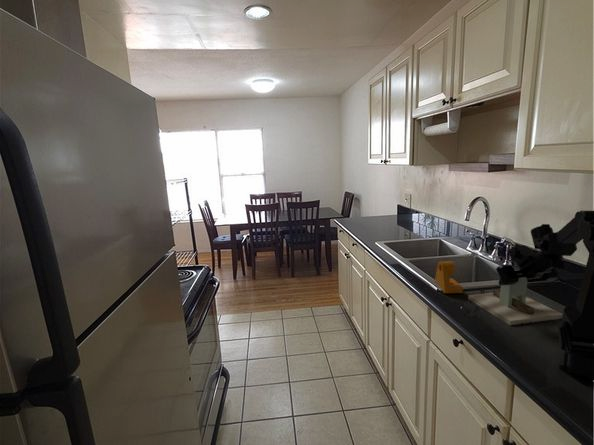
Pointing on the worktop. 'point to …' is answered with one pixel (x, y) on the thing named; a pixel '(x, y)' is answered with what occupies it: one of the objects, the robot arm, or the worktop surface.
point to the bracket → (447, 277)
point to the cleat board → (514, 309)
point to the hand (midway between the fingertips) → (511, 282)
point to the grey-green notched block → (513, 292)
